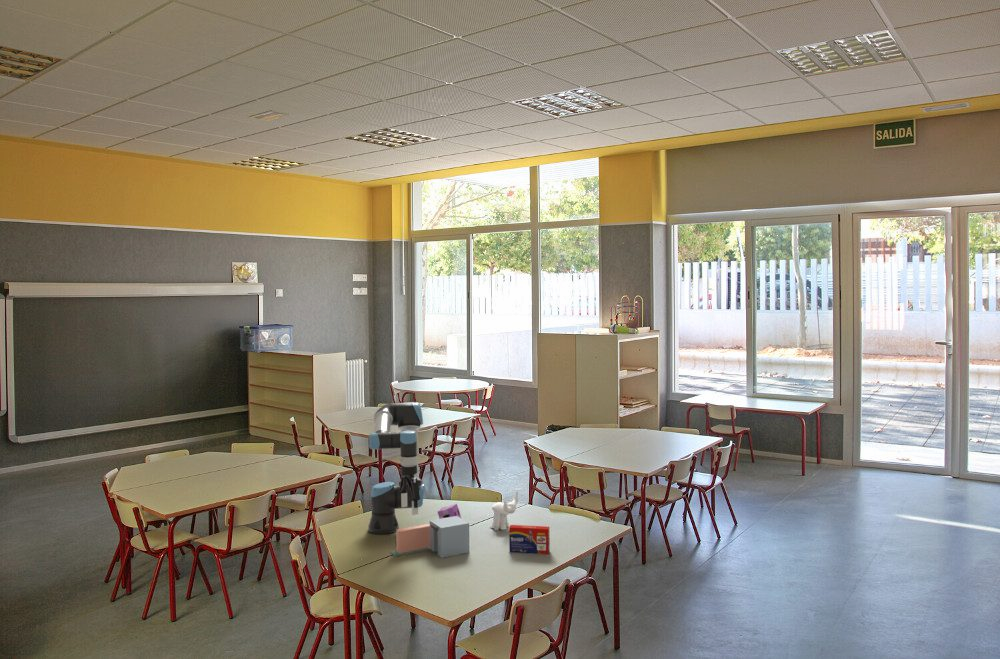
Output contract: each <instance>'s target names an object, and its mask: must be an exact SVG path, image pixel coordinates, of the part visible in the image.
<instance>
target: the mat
mask: <svg viewBox="0 0 1000 659" xmlns="http://www.w3.org/2000/svg"><path fill="white" fill-rule="evenodd" d="M429 550H431V549H430V547H429V548H424V549H419V550H414V551H408V552H403V553H398V552H397V549H394V550H390V551H389V552H390V553H391V554H392V555H393V556H394V557H397V556H398V557H399V556H403V555H408V554H414V553H418V552H419V553H420V552H425V551H429Z"/></svg>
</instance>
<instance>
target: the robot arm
mask: <svg viewBox="0 0 1000 659" xmlns="http://www.w3.org/2000/svg"><path fill="white" fill-rule="evenodd" d="M373 422H374V432H371V433H369V435H368V447H369V449H370V450H386V449H387V450H388V449H389V450H390V449H400V459H399V462H400V479H399V481H398V484H397V485H396V484H395V482H393V481H384V482H379V483H377V484H374V485H373V486H372V487H371V493H370V494H371V495H370V497H371V498H370V499H371V501H370V502H371V517H370V519H369V523H368V527H367V528H368V529H367V531H368V532H369V533H371V534H374V535H386V534H388V535H389V534H392V533H396V529H400V528H399V525H400V524H399V521H398V518H397V516H396V510H398V509H402V510H403V509H411V512H412V513H411V516H414V515H419V508H422V506H423V504H424V503H423V502H424V494H425V493H424V492H425V485H426V484H425V483H423V481H422V479H421V478H420V477H419V475H420V474H419V438H418V437H419V436H418V435H419V434H418V433H419V432H418V431H420V430H421V426H422V425H424V419H423V411H422V406H421V404H420V403H419V402H413V401H412V402H391V403H386V404H385V405H382V406H381V407H379V408H378V409H377V410H376V412H375V413H374V415H373ZM391 426H397V428H398V430H399V431H397V432H396V431H393V432H391Z"/></svg>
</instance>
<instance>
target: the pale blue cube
mask: <svg viewBox="0 0 1000 659" xmlns="http://www.w3.org/2000/svg"><path fill="white" fill-rule="evenodd" d="M461 518H462V517H461ZM461 518H460V517H458V516H453V517H447V518H441V519H439V518H436V519H430V520H429V525H430V547H429V548H430V550H431V551H432V552H437V556H439V557H440V558H441V559H442V558H446V557H451V556H457V555H463V554H467V553H470V523H469V522H468V521H466V520H465V519H463V518H462V519H461Z"/></svg>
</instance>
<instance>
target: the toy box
mask: <svg viewBox="0 0 1000 659" xmlns="http://www.w3.org/2000/svg"><path fill="white" fill-rule="evenodd" d="M508 529H509V530H508V534H509V538H508V540H509V542H508V543H509V548H508V549H509V551H508V552H509V553H514V554H515V553H517V554H531V553H532V555H533V554H537V555H550V550H551V549H550V548H551V547H550V542H551V541H550V540H551V538H550V526H544V525H543V526H542V525H540V526H539V525H521V524H509V527H508Z"/></svg>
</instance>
